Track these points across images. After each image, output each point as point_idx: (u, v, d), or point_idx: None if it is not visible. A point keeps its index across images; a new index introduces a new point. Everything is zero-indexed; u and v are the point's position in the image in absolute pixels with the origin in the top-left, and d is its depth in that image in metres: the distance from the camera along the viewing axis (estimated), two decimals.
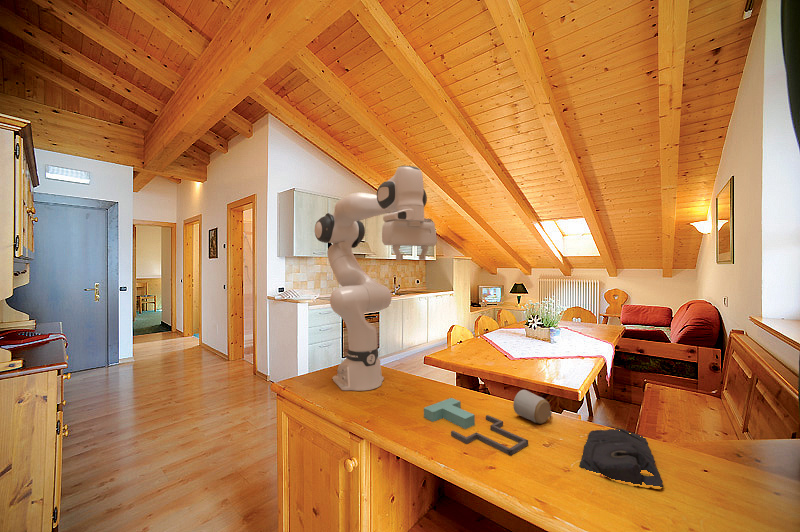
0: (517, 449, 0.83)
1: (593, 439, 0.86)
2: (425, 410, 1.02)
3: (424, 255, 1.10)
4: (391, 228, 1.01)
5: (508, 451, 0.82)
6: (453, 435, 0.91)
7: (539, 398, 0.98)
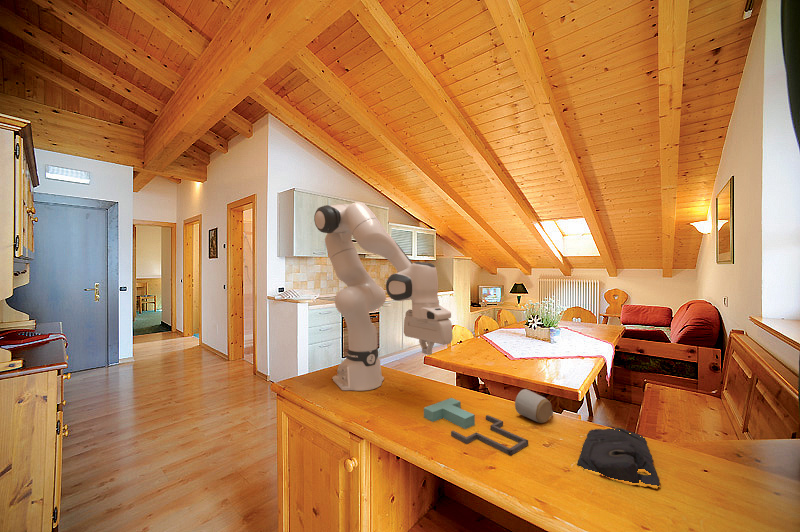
0: (517, 449, 0.83)
1: (592, 438, 0.87)
2: (425, 410, 1.02)
3: None
4: None
5: (508, 451, 0.82)
6: (453, 435, 0.91)
7: (541, 397, 0.98)
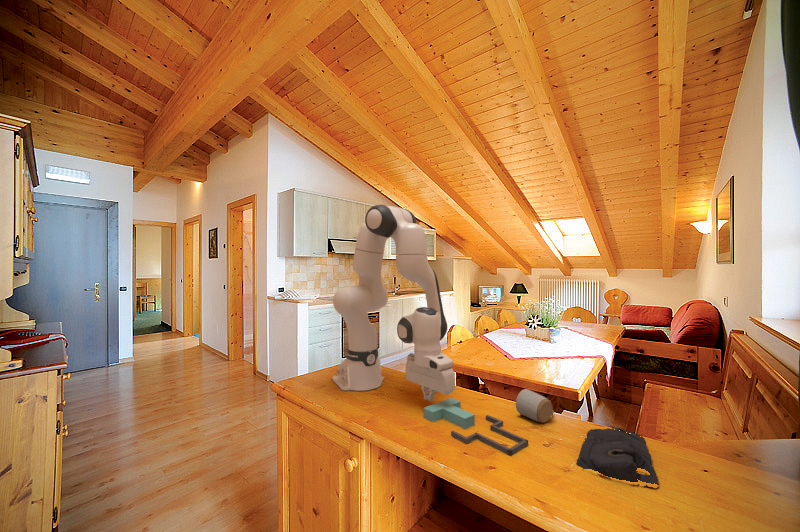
0: (517, 449, 0.83)
1: (591, 438, 0.87)
2: (425, 410, 1.02)
3: None
4: None
5: (508, 451, 0.82)
6: (453, 435, 0.91)
7: (541, 397, 0.98)
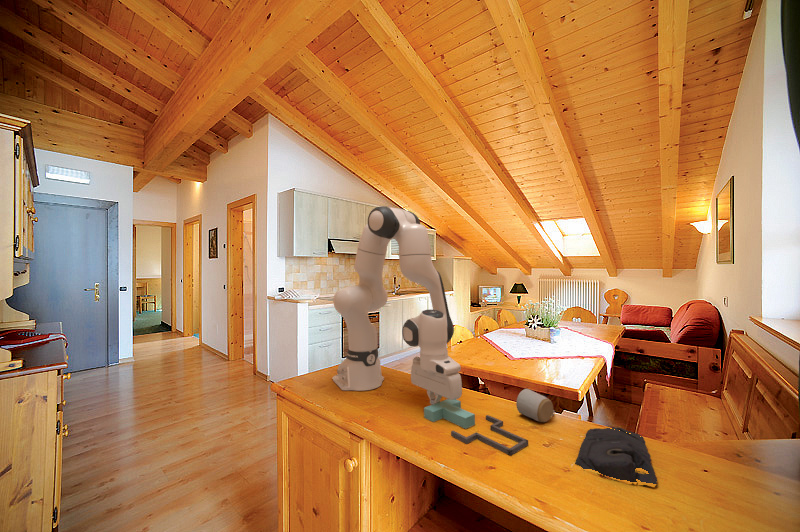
0: (517, 449, 0.83)
1: (590, 437, 0.87)
2: (425, 410, 1.02)
3: None
4: None
5: (508, 451, 0.82)
6: (453, 435, 0.91)
7: (542, 397, 0.99)
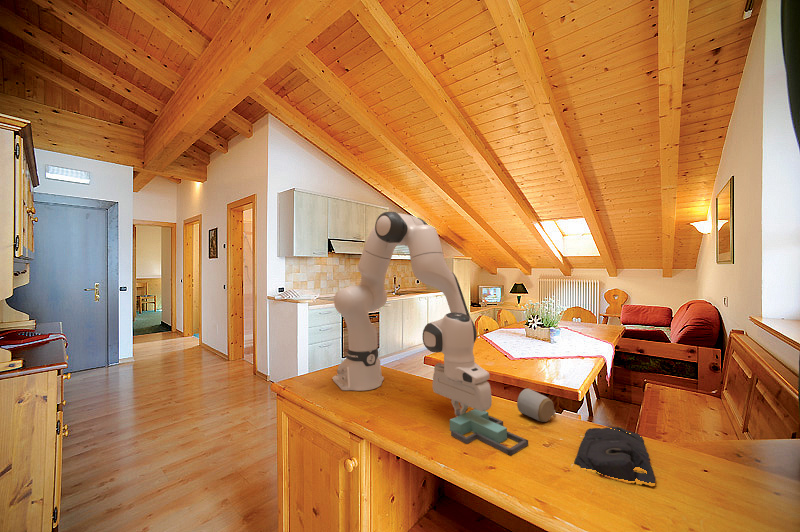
0: (517, 449, 0.83)
1: (589, 437, 0.87)
2: (451, 422, 0.94)
3: None
4: None
5: (508, 451, 0.82)
6: (453, 435, 0.91)
7: (543, 397, 0.99)
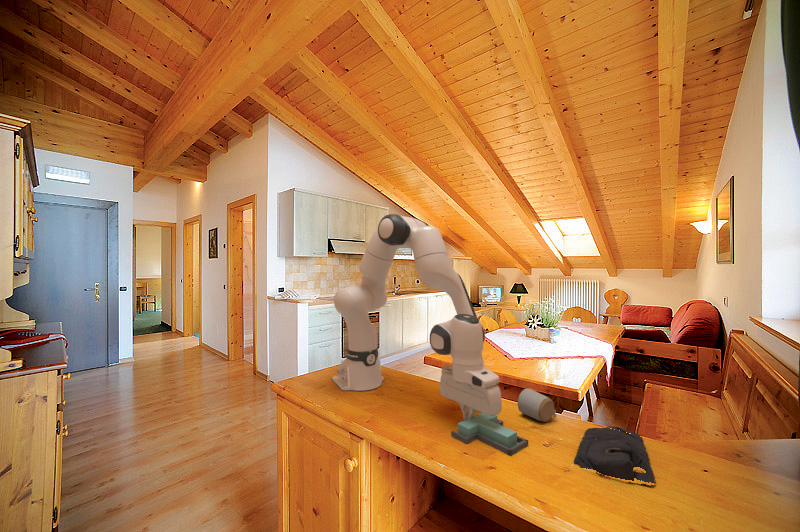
0: (517, 449, 0.83)
1: (589, 436, 0.88)
2: (459, 426, 0.91)
3: None
4: None
5: (508, 451, 0.82)
6: (453, 435, 0.91)
7: (543, 397, 0.99)
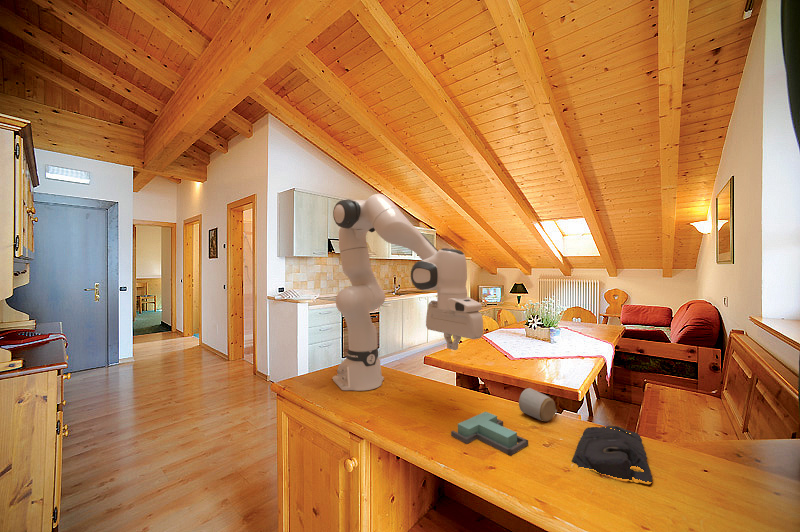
0: (517, 449, 0.83)
1: (588, 436, 0.88)
2: (459, 426, 0.91)
3: None
4: None
5: (508, 451, 0.82)
6: (453, 435, 0.91)
7: (544, 396, 0.99)
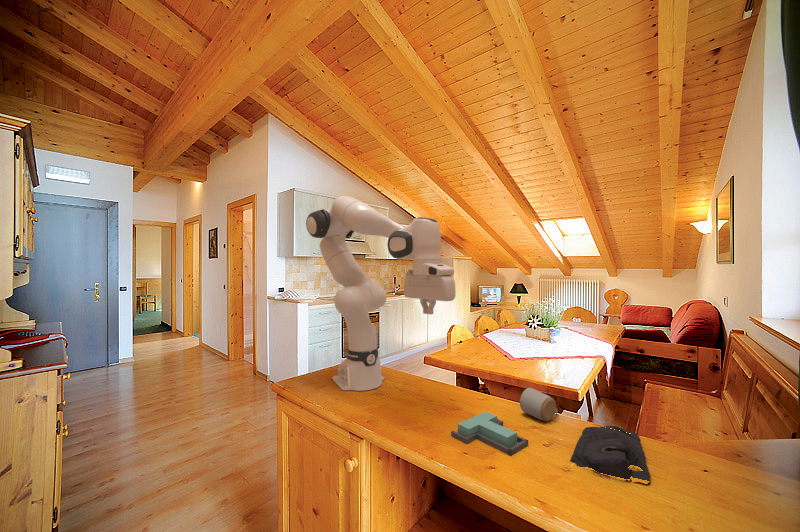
0: (517, 449, 0.83)
1: (586, 435, 0.88)
2: (459, 426, 0.91)
3: None
4: None
5: (508, 451, 0.82)
6: (453, 435, 0.91)
7: (545, 396, 0.99)
